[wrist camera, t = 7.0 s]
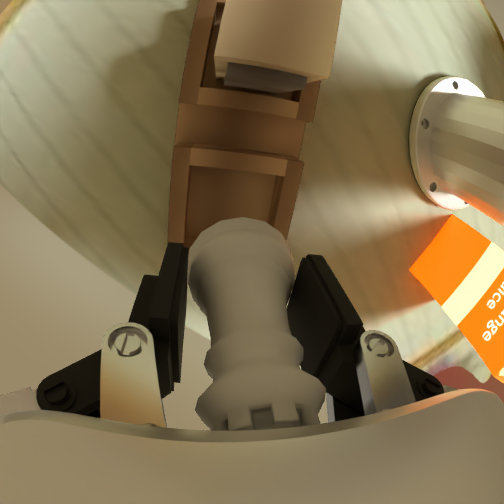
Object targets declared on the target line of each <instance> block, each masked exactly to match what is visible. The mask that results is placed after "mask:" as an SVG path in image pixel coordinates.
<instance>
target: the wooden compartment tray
mask: <svg viewBox="0 0 504 504" xmlns="http://www.w3.org/2000/svg"><path fill="white" fill-rule="evenodd" d="M341 5H342V0H199V3H198V7H197V11H196V15H195V19H194V23H193V28H192V32H191V37H190V42H189V47H188V52H187V57H186V62H185V68H184V74H183V80H182V86H181V92H180V99H179V110H178V118H177V126H176V134H175V143H174V148H173V159H172V170H171V184H170V199H169V220H168V243H169V242H175V243H183V244H184V247H188V248H189V250H190V247H191V246H192V245H193V243H194V242H195V240H196V239H197V238H198V236H199V235H200V234H201V232H202V231H204V230H206V229H207V228H209V227H211V226H212V225H214V224H216V223H218V222H219V221H222V220H228V219H234V218H240V217H246V218H251V219H255V220H260V221H265V222H266V223H268V224H269V225H271V226H272V227H273V228H275V229H276V230H278V231H279V232H281V233H282V235H283V237H284V238H285V240H287V235H288V231H289V227H290V223H291V219H292V214H293V210H294V206H295V201H296V197H297V193H298V188H299V184H300V179H301V175H302V170H303V166H304V163H303V162H302V161H300V160H299V155H300V150H301V145H302V140H303V135H304V130H305V125H306V121H307V122H312V123H313V118H314V113H315V108H316V103H317V98H318V93H319V88H320V82H321V80H324V79H329V78H330V72H331V67H332V61H333V56H334V50H335V44H336V38H337V32H338V25H339V19H340V12H341ZM188 256H189V255H188Z"/></svg>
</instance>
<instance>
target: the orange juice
mask: <svg viewBox="0 0 504 504" xmlns="http://www.w3.org/2000/svg"><path fill="white" fill-rule="evenodd" d="M409 271H410V272H411V273H412V274H413V275H414V276H415V277H416V278H417V279H418V280H419V281H420V283H421V284H422V285H423V286H424V287H425V288H426V289H427V290H428V292H429V293H430V294H431V295H432V296H433V297H434V298H435V300H436V301H437V302H438V303H439V304H440V306H441V307H442V309H443V310H444V311H445V312H446V313H447V315H448V316H449V317H450V318H451V320H452V321H453V322H454V323H455V325H456V326H457V327H458V328H459V329H460V330H461V331H462V333H463V334H464V335H465V337H466V338H467V340H468V341H469V342H470V343H471V345H472V346H473V347H474V349H475V350H476V351H477V353H478V354H479V356H480V357H481V359H482V360H483V361H484V363H485V364H486V365H487V367H488V368H489V370H490V371H491V373H492V374H493V376H494V377H495V378H497V379H498V380H500V381H501V382H503V383H504V251H503V250H502V249H500V248H499V247H498V246H497V245H495V244H494V243H493V242H491V241H489V240H488V239H487V238H485V237H484V236H483V235H481V234H480V233H479V232H477V231H476V230H475V229H473V228H472V227H470V226H469V225H468V224H466V223H465V222H463V221H462V220H460V219H459V218H457V217H456V216H454V215H453V214H452V215H451V216H450V218H449V219H448V220H447V222H446V223H445V225H444V226H443V227H442V229H441V230H440V231H439V233H438V234H437V235H436V237H435V238H434V239H433V241H432V242H431V243H430V244H429V246H428V247H427V248H426V250H425V251H424V252H423V253H422V255H421V256H420V257H419V258H418V259H417V261H416V262H415V263H414V264H413V265H412V267H411V268H410V269H409Z"/></svg>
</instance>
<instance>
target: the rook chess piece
mask: <svg viewBox="0 0 504 504" xmlns="http://www.w3.org/2000/svg"><path fill="white" fill-rule="evenodd" d="M187 281H188V284H189V288H190V291H191V294H192V297H193V300H194V301H195V302H196V303H197V304H198V306H199V307H200V310H201V311H202V312H203V313H204V314H205V315H206V316H207V321H208V326H209V331H210V336H211V348H210V349H209V350H208V351H207V354H206V358H205V362H204V366H205V368H206V370H207V373H208V375H209V376H210V377H211V378H213V383H212V384H211V385H210V386H209V387H208V388H207V389H206V391H205V392H204V393H203V394H202V395H201V396H200V397H199V398H198V401H197V405H196V408H195V411H196V412H197V414H198V415H199V417H200V418H201V420H202V421H203V422H204V423H205V424H206V425H207V426H208V427H209V428H210V429H211V431H243V430H267V429H280V428H291V427H301V426H309V425H316V424H320V421H319V417H318V413H319V411H320V409H321V407H322V404H323V402H324V400H325V394H326V388H325V387H324V385H323V384H322V383H321V382H320V380H319V379H317V378H316V377H314V376H312V375H310V374H308V373H306V372H305V371H303V370H301V369H300V367H299V365H300V364H301V362H302V361H303V347H302V345H301V344H300V343H299V341H298V340H297V339H296V338H295V337H293V336H292V335H291V331H290V328H289V324H288V316H287V307H286V305H287V303H288V301H289V298H290V296H291V291H292V289H293V286H294V283H295V268H294V259H293V258H292V256H291V249H290V247H289V245H288V244H287V242H286V240H285V238H284V237H283V235H282V233H281V232H279V231H278V230H276V229H275V228H273V227H272V226H271V225H269V224H268V223H266V222H265V221H260V220H255V219H251V218H246V217H240V218H234V219H228V220H222V221H219V222H218V223H216V224H214V225H212V226H211V227H209V228H207V229H206V230H204V231H202V232H201V234H200V235H199V236H198V238H197V239H196V240H195V242H194V243H193V245H192V246H191V247H190V250H189V256H188V274H187Z"/></svg>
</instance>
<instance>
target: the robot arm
mask: <svg viewBox="0 0 504 504" xmlns="http://www.w3.org/2000/svg"><path fill="white" fill-rule="evenodd" d="M409 143H410V157H411V164H412V168H413V171H414V174H415V178H416V180H417V182H418V184H419V186H420V188H421V189H422V191H423V192H424V194H425V195H426V196H427V197H428V198H429V199H430V200H431V201H432V202H434V203H436V204H437V205H439V206H441V207H442V208H445V209H448V210H459V209H462V208H465V207H467V206H469V205H471V206H473V207H475V208H476V209H478V210H480V211H481V212H483V213H484V214H486V215H487V216H489V217H490V218H492V219H493V220H495V221H496V222H498V223H499V224H501V225H502V226H504V101H500V100H495V99H490V98H486V97H485V96H484V94H483V93H482V91H481V90H480V89H479V88H478V87H477V86H476V85H475V84H473V83H472V82H470V81H469V80H467V79H464V78H461V77H455V76H446V77H440V78H438V79H436V80H434V81H432V82H431V83H430V84H429V85H428V86H427V87H426V88H425V89H424V91H423V92H422V94H421V95H420V97H419V99H418V101H417V103H416V106H415V108H414V112H413V116H412V120H411V126H410V135H409ZM188 255H189V248H188V247H184V244H183V243H175V242H169V243H168V246H167V249H166V252H165V255H164V259H163V262H162V265H161V269H160V272H159V276H153V275H144V277H143V279H142V282H141V285H140V288H139V291H138V294H137V297H136V300H135V303H134V306H133V309H132V312H131V315H130V318H129V322H126V323H120V324H117V325H115V326H113V327H111V328H110V329H109V330H108V331H107V332H106V333H105V335H104V337H103V341H102V349H101V350H99V351H97V352H95V353H93V354H91V355H89V356H87V357H86V358H83V359H81V360H79V361H78V362H76V363H73V364H71V365H70V366H68V367H66V368H64V369H62V370H60V371H58V372H56V373H54V374H51V375H49V376H48V377H46V378H45V379H43V381H42V382H41V383H40V384H39V386H38V388H37V389H35V390H32V389H31V387H28V388H25V389H21V390H18V391H14V392H10V393H7V394H3V395H0V504H504V403H503V402H502V401H501V399H500V398H499V397H498V396H497V395H496V394H495V393H493V392H490V391H487V390H483V389H461V390H458V389H455V388H452V387H449V386H446V385H443V386H442V384H441V383H440V382H439V381H438V380H437V379H436V378H435V377H434V376H432V375H430V374H428V373H426V372H424V371H423V370H421V369H419V368H417V367H415V366H413V365H411V364H409V363H407V362H405V361H404V360H402V358H401V355H400V353H399V350H398V347H397V345H396V343H395V342H394V340H393V339H392V338H391V337H389V336H388V335H387V334H385V333H383V332H381V331H376V330H369V331H365V329H364V328H363V322H362V321H361V319H360V317H359V315H358V314H357V312H356V310H355V309H354V307H353V305H352V303H351V302H350V300H349V298H348V297H347V295H346V293H345V292H344V290H343V288H342V287H341V285H340V283H339V282H338V280H337V278H336V277H335V275H334V273H333V272H332V270H331V269H330V267H329V265H328V264H327V262H326V261H325V259H324V257H323V256H321V255H311V254H308V255H307V256H306V258H304V257H303V258H302V260H301V263H300V266H299V270H298V273H297V276H296V280H295V283H294V286H293V290H292V293H291V296H290V300H289V303H288V306H287V316H288V324H289V328H290V331H291V335H292V336H293V337H295V338H296V339H297V340H298V341H299V343H300V344H301V345H302V347H303V361H302V362H301V364H300V366H301V369H302V370H303V371H305V372H306V373H308V374H310V375H312V376H314V377H316V378H317V379H319V380H320V382H321V383H322V384H323V385H324V387H325V388H326V393H327V394H326V401H327V413H328V423H323V424H316V425H309V426H301V427H291V428H280V429H267V430H243V431H209V430H187V429H174V428H167V424H166V419H165V414H164V408H163V402H162V398H164V397H165V396H167V395H168V394H170V393H171V391H174V382H176V383H180V378H181V363H182V351H183V339H184V327H185V317H186V303H187V274H188Z"/></svg>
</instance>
